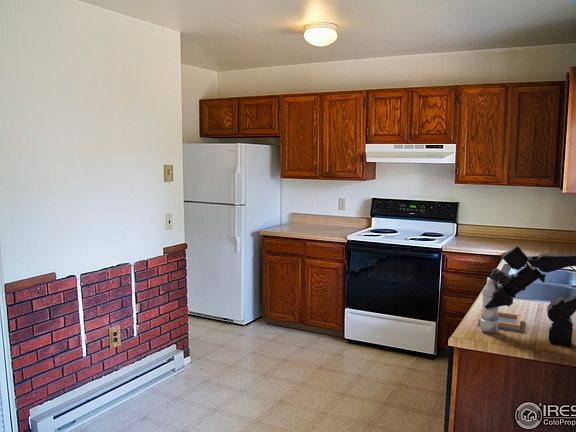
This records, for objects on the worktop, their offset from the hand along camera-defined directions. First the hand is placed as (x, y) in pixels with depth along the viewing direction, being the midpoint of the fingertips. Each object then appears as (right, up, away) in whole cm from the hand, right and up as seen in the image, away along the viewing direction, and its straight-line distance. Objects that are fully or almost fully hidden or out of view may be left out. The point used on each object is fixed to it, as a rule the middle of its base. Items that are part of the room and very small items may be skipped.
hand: (486, 305), depth 179 cm
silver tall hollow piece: (+1, -10, +1) cm, 10 cm away
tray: (+9, -9, +11) cm, 17 cm away
